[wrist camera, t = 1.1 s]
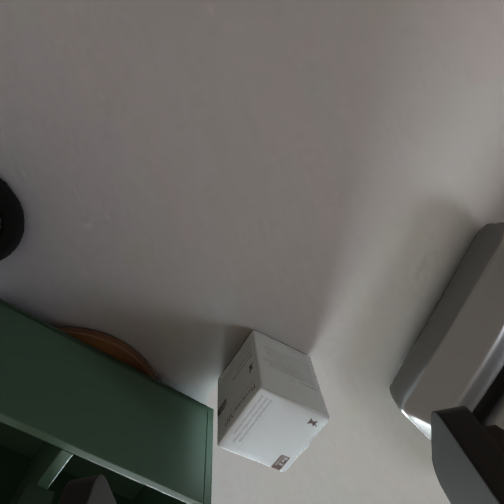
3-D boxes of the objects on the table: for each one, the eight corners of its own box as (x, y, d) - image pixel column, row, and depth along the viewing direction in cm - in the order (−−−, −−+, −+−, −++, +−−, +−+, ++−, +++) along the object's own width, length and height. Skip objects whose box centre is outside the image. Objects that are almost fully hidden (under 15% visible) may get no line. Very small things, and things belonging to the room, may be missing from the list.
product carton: (252, 327, 34) (259, 385, 27) (311, 356, 36) (333, 419, 29) (216, 379, 36) (215, 447, 29) (274, 405, 37) (286, 475, 31)
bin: (-79, 410, 34) (-239, 578, 22) (-11, 292, 30) (-156, 417, 19) (135, 500, 39) (99, 674, 27) (213, 409, 36) (209, 562, 24)
